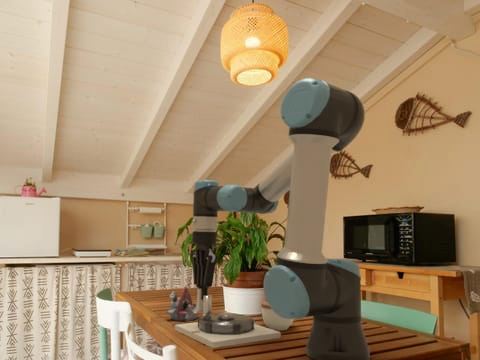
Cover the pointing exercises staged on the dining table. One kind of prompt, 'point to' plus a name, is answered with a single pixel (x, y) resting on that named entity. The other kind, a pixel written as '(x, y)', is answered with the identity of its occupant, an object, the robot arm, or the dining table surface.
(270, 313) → the lidded jar
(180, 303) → the grey maroon spiky lump
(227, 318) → the notched disc with hub
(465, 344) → the dining table surface
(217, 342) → the base board
